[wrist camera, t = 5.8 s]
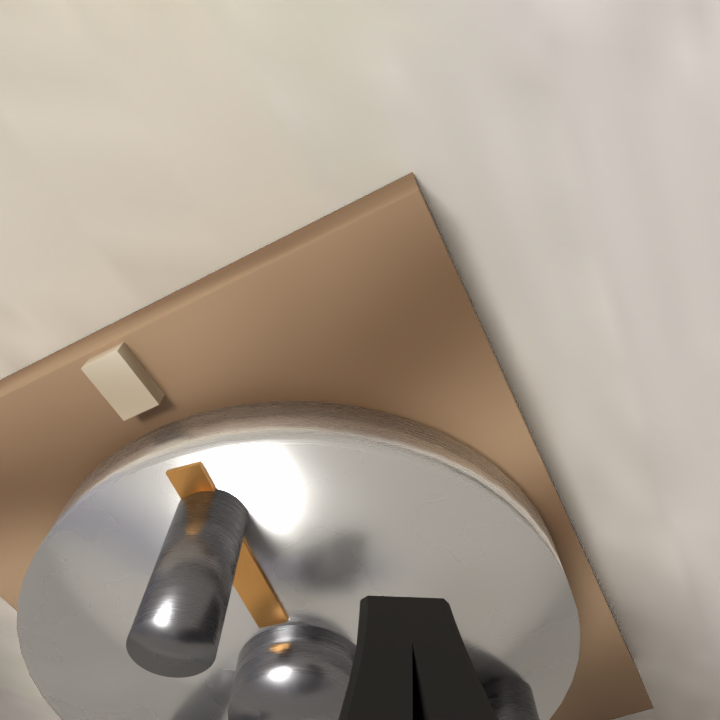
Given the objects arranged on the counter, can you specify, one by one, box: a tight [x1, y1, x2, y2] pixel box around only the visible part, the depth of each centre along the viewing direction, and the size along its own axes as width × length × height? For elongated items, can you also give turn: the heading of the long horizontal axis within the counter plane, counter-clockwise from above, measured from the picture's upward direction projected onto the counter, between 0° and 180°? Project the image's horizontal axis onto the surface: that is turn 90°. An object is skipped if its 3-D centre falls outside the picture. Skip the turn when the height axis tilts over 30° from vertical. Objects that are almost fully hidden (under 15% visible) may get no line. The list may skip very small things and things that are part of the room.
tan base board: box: [0, 172, 653, 720], centre depth 17 cm, size 17×14×2 cm
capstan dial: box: [17, 401, 581, 720], centre depth 14 cm, size 13×13×4 cm
